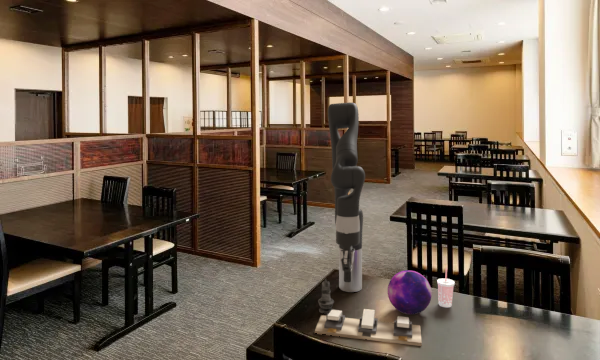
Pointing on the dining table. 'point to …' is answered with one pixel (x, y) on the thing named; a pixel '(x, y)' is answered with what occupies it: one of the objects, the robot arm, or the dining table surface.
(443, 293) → the beverage cup
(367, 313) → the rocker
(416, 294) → the decorative orb
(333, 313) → the block
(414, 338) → the switch board
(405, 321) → the block
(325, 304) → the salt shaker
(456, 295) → the dining table surface
